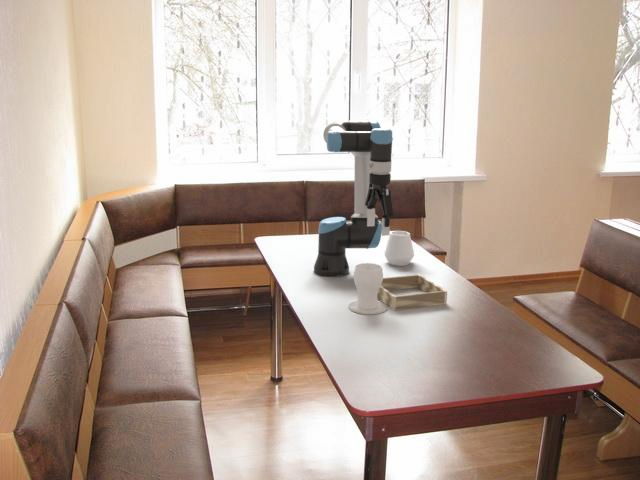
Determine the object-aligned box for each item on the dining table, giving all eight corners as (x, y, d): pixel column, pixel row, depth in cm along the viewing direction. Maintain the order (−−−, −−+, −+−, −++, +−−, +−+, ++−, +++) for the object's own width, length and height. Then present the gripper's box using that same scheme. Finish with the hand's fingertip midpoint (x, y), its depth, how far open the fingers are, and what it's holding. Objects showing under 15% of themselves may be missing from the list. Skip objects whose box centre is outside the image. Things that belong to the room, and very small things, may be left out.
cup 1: (380, 312, 238) (381, 272, 234) (350, 309, 240) (351, 270, 236) (383, 302, 248) (384, 263, 244) (355, 300, 250) (356, 261, 246)
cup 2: (418, 261, 303) (420, 232, 300) (405, 268, 292) (407, 238, 289) (392, 257, 310) (393, 228, 307) (378, 263, 299) (379, 233, 296)
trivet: (342, 303, 248) (342, 302, 248) (377, 299, 252) (377, 298, 252) (357, 316, 235) (357, 314, 235) (393, 312, 240) (393, 310, 239)
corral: (369, 291, 262) (369, 279, 260) (418, 286, 269) (419, 274, 268) (393, 310, 242) (393, 297, 240) (446, 304, 249) (447, 291, 248)
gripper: (357, 167, 246) (355, 223, 252) (384, 179, 224) (382, 240, 229) (376, 166, 249) (374, 221, 254) (404, 178, 226) (401, 238, 231)
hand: (377, 230), depth 242 cm, fingers open, 13 cm apart
